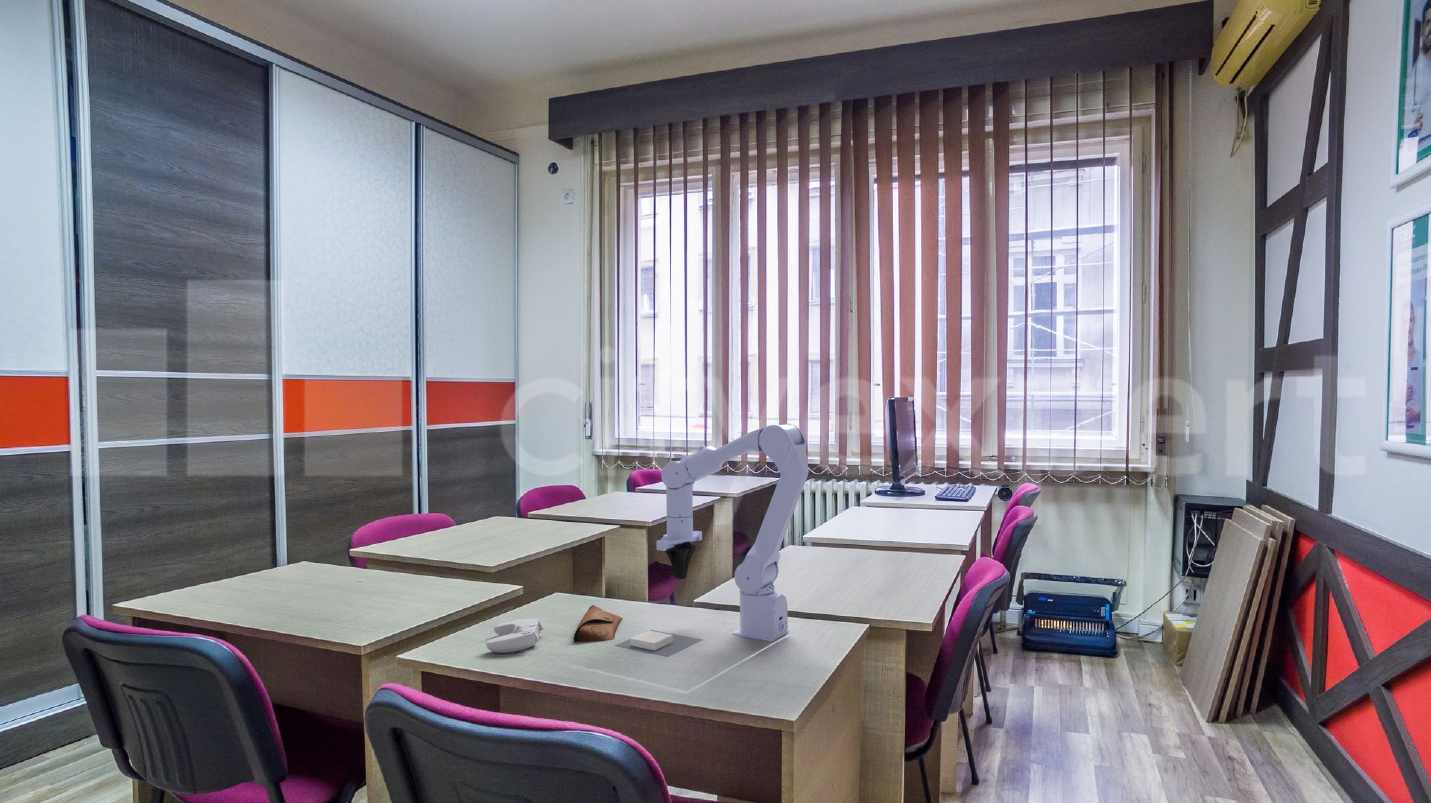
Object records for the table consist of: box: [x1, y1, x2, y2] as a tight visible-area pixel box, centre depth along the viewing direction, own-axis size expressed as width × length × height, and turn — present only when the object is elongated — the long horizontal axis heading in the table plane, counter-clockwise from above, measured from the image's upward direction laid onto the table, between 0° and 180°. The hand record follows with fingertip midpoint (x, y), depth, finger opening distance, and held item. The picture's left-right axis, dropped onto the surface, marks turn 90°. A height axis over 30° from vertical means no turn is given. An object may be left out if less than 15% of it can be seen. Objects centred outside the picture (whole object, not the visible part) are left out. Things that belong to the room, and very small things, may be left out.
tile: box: [629, 630, 673, 651], centre depth 152 cm, size 6×2×6 cm
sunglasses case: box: [573, 604, 624, 643], centre depth 163 cm, size 18×7×7 cm
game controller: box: [485, 618, 544, 654], centre depth 155 cm, size 14×4×10 cm
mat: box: [614, 629, 704, 658], centre depth 153 cm, size 13×12×1 cm
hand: (680, 578), depth 167 cm, fingers closed
